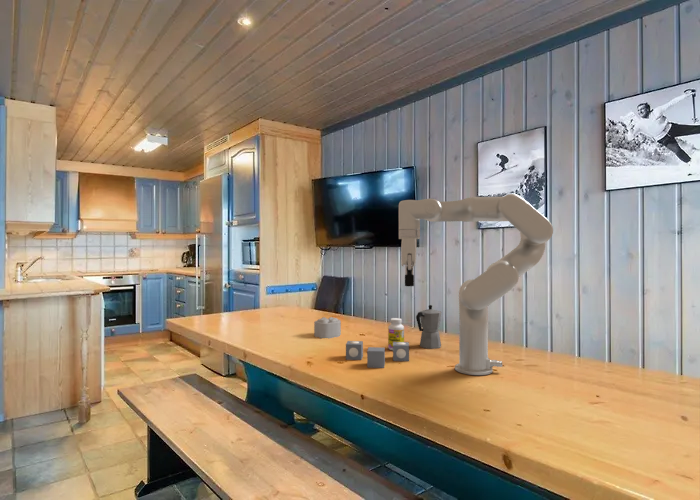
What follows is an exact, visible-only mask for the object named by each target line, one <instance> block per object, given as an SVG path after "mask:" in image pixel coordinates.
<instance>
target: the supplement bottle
mask: <svg viewBox="0 0 700 500" xmlns="http://www.w3.org/2000/svg"><path fill="white" fill-rule="evenodd" d="M402 323H403V319H402V318H401V317H400V318H399V317H391V318H390V324H389V325H388V328H387V329H388V330H387V331H388V334H387V336H388V337H387V338H388V341H387V342H388V343H387V344H388V346H387V347H388V350H390V351H393V342H405V326H404V325H403V324H402Z"/></svg>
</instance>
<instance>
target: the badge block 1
mask: <svg viewBox="0 0 700 500" xmlns="http://www.w3.org/2000/svg"><path fill="white" fill-rule="evenodd" d="M363 356H364V341H363V340H347V342H346V343H345V360H346V361H347V360H348V361H350V360H351V361H362V360H363V358H364V357H363Z"/></svg>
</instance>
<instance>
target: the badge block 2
mask: <svg viewBox="0 0 700 500" xmlns="http://www.w3.org/2000/svg"><path fill="white" fill-rule="evenodd" d="M392 361H393V362H410V343H409V342H408V341H404V342H393V350H392Z"/></svg>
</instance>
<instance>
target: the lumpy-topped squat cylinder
mask: <svg viewBox="0 0 700 500" xmlns="http://www.w3.org/2000/svg"><path fill="white" fill-rule="evenodd" d="M341 323H342V322H341V319H338V318H337V317H332V316H331V317H328V318H327V317H326V316H325V317H321V318H319V319H317V320H315V321H314V323H313V324H314V327H313V328H314V329H313V330H314V331H313V333H314V334H313V336H315V337H314V338H318V337H319V339H322V338H328V339H334V337H335V338H338V337H340V335H342V333H341V331H342V328H341V326H342V324H341Z"/></svg>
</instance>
